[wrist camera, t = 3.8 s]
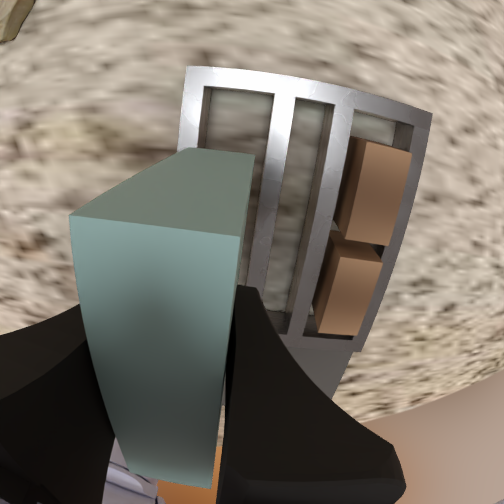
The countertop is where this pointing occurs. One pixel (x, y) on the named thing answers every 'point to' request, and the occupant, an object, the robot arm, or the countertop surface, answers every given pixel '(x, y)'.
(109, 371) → the teal panel
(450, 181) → the countertop surface
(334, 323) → the walnut offcut
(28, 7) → the stone slab
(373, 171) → the walnut offcut
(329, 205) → the rack
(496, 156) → the countertop surface
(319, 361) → the dark grey square plate
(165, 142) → the countertop surface
